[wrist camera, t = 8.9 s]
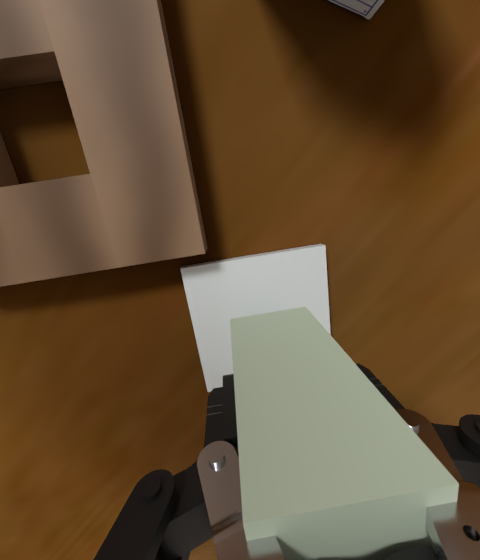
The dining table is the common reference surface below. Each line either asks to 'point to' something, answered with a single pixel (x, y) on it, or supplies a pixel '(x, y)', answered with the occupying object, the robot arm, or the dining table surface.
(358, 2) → the medicine box
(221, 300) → the tile
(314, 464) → the green block
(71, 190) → the pocket board
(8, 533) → the dining table surface
